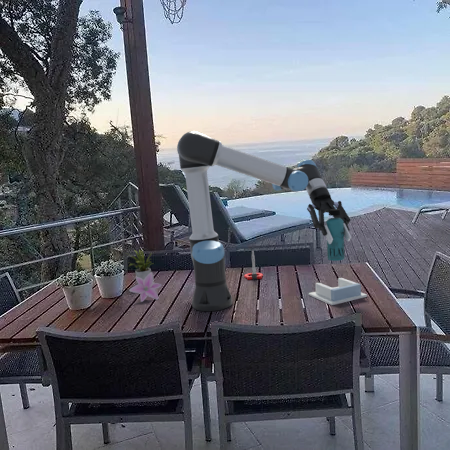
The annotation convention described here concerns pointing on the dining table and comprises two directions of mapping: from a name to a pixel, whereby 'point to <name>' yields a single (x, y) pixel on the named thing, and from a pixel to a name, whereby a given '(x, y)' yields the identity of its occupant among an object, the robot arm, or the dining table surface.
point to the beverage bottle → (335, 237)
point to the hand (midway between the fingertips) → (340, 240)
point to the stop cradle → (338, 292)
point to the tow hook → (253, 271)
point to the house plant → (141, 265)
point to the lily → (146, 287)
